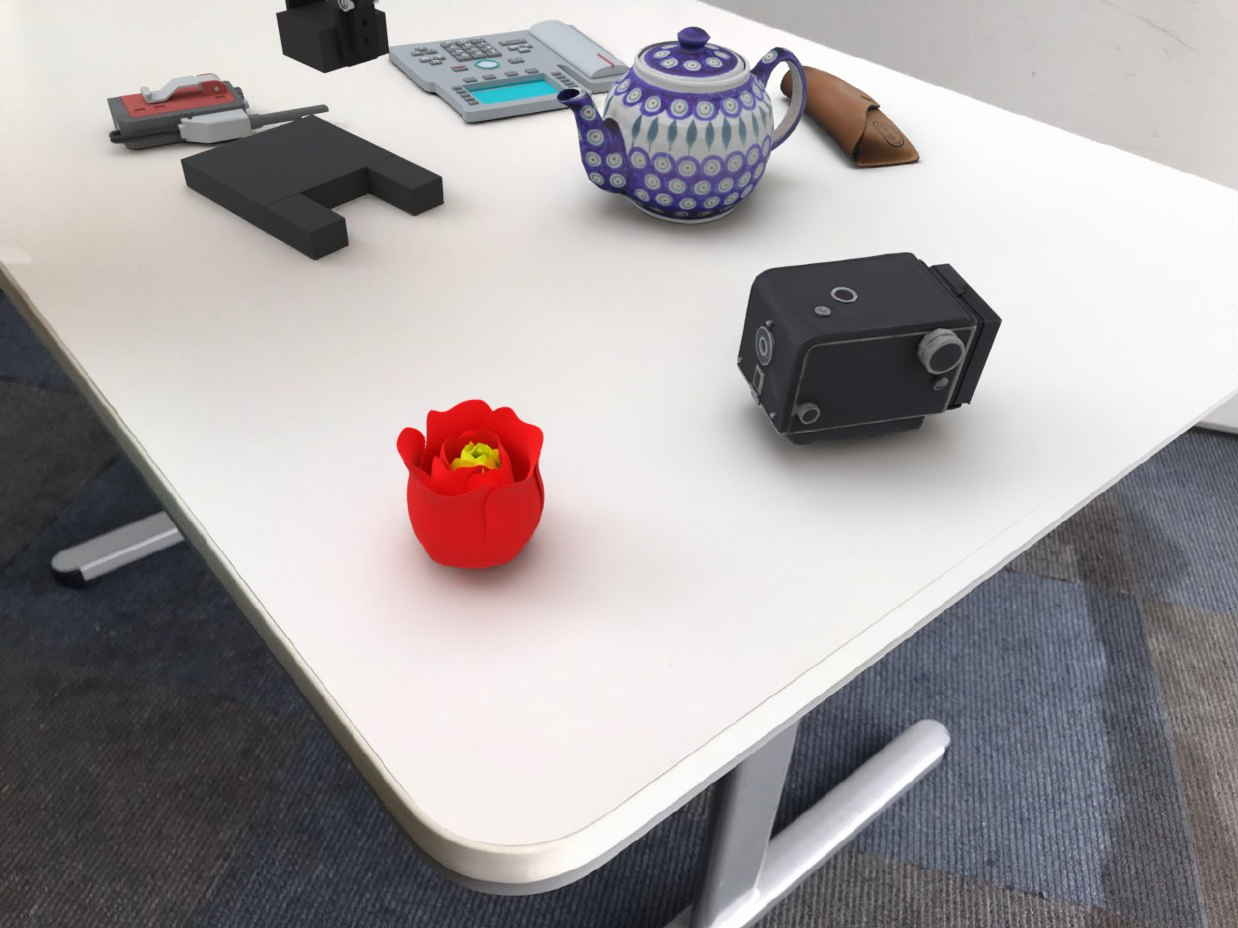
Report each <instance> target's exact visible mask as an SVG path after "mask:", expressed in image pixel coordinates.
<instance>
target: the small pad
mask: <svg viewBox="0 0 1238 928" xmlns="http://www.w3.org/2000/svg"><path fill="white" fill-rule="evenodd" d="M339 7H340V6H339V3H338V0H324V1H320V2H316V3H313V4H309V5H305V6H301V7H297V8H293V9H289V10H286V9H285V10H281V11H278V12H276V13H275V17H276V22H277V23H276V24H277V28H278V35H279V40H280V46H281V51H282V56H285V57H288V58H289V59H291V60H294V61H296V62H299V63H300V64H302V65H305V66H307V67H309V68H312V69H314V70H316V71H317V72H320V73H322V74H327V73H328V74H329V73H331V72H334V71H338V70H341V69H343V68H347V67H346V66H344V65H342V64H341V62H340V55H339V48H338V40H337V32H336V26H335V19H334V10H333V9H336V8H339ZM375 13H376V22H377V32H378V41H379V51H380V54H379V57H383V56H386V55H388V54H389V47H390V45H389V35H388V26H387V25H388V23H387V15H386V11H383V10H380V9H377V8H375Z"/></svg>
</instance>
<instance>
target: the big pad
mask: <svg viewBox="0 0 1238 928" xmlns="http://www.w3.org/2000/svg"><path fill="white" fill-rule="evenodd" d="M180 164H181V167H182V172H183V176H184V180H185V184H186V186H187V187H188V188H190V189H192V190H193V191H195V192H197V193H199V194H200V195H202V196H204V197H205V198H207V199H209V200H211V201H212V202H214V203H216V204H217V205H219V206H220V207H223V208H224V209H226V210H227V211H230V212H231V213H233V214H235V215H236V216H238V217H240V218H241V219H242V220H245V221H246V222H248V223H250V224H252V225H253V226H255V227H257V228H259V229H260V230H262V231H264V232H265V233H267V234H270V235H271V236H273V237H274V238H275V239H277V240H280V241H281V242H283V243H284V244H286V245H288V246H290V247H291V248H293V249H295V250H297V251H298V252H300V253H302V254H304V255H305V256H307V257H309V258H310V259H312V260H313V261H315V260H319V259H320V258H323V257H326V256H327V255H329V254H331V253H333V252H336V251H339V250H340V249H341V250H342V249H343V248H345V247H347V246H349V245H350V243H349V242H350V241H349V236H348V235H349V234H348V228H347V221H346V218H345V216H343V215H341V214H339V213H337V212H335V211H333V210H332V209H333V208H335V207H338V206H340V205H342V204H345V203H347V202H350V201H352V200H355V199H357V198H360V197H362V196H364V195H367V194H371V195H372V196H375V197H377V198H379V199H380V200H383V201H384V202H386V203H389V204H390V205H393V206H394V207H395V208H398V209H400V210H401V211H403V212H406V213H408V214H410V215H412V216H417V215H419V214H422V213H424V212H426V211H430V210H431V209H433V208H435V207H438V206H441V205H442V204H444V203H445V198H444V197H445V196H444V185H443V184H444V183H443V175H442V176H441V175H440V174H438V173H436V172H433V171H431V170H429V169H427V168H425V167H423V166H420V165H419V164H417V163H414V162H413V161H410V160H409V159H407V158H404V157H402V156H400V155H398V154H396V153H395V152H392V151H390V150H388V149H386V148H383V147H381V146H379V145H377V144H375V143H373V142H371V141H369V140H367V139H365V138H362V137H360V136H358V135H356V134H354V133H352V132H350V131H348V130H347V129H344V128H342V127H340V126H337V125H336V124H333V123H331V122H330V121H327V120H325V119H323V118H322V117H319V116H317V115H316V114H314V115H308V116H303V117H302V118H300V119H297V120H295V121H289V122H285V123H284V124H283V123H282V124H280V125H277V126H274V127H272V128H268V129H265V130H262V131H259V132H256V133H253V134H252V135H250V136H248V137H245V138H238V139H236V140H233V141H230V142H227V143H225V144H222V145H218V146H216V147H212V148H210V149H207V150H203V151H201V152H197V153H194V154H191V155H189V156H187V157H186V156H185V157H183V158H181V159H180Z"/></svg>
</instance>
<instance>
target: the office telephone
mask: <svg viewBox="0 0 1238 928" xmlns="http://www.w3.org/2000/svg"><path fill="white" fill-rule="evenodd" d="M387 56H388V59H389V60H390V61H391V62H392V63H393V64H394V65H396V66H397V68H399V69H400V70H401V71H402V72H403V73H404V74H405V75H407V77H408V78H410V79H411V80H412V81H413V82H414V83H415V84H416V85H418V87H420V88H421V89H423V90H424V91H425V92H428V93H435V94H437V95H438V96H439V97H441V98H442V99H443V100H444V101H445V102H446V103H448V104H449V105H450V106H451V107H452V108H453V109H454V110H455V111H456V112H458V114H460V115H461V116H462V120H463V121H464V122H467V123H476V122H481V121H482V122H483V121H488V120H496V119H501V118H507V117H513V116H514V117H515V116H520V115H521V116H522V115H526V114H533V113H539V112H546V111H552V110H557V109H564V108H569V107H568V106H566V105H564V104H562V103H560V102H559V101H558V100H557V98H556V97H557V95H558V93H559V92H561V91H562V90H564V89H567V88H573V87H578V88H581V89H583V90H584V91H586V92H587V93H588V94H589V95H590V97H591V98H592V99H593V97H592V96H593V94H597V93H604V92H605V93H606V92H609V90H610V88H611V86H612V85H613V84H614V82H615V81H616V80H617V79H618V78H619V77H621V76H622V75H623V74H624V73H625V72H627V71H628V70H629V69H630V68H631V67H630V66H628V65H627V64H626V63H624V62H623V61H622V60H620V59H618V58H617V57H615V55H614V54H613V53H611V52H610V51H609V50H608V49H606V48H605V47H604V46H602V45H601V44H599V43H597V42H596V41H594V40H593V39H592V38H591V37H589V36H588V35H587V34H585V33H584V32H582V31H581V30H580V29H578V28H577V27H576V26H574V25H573V24H566V23H565V22H564V21H562V20H557V19H548V20H542V21H539V22H537V23H534V24H532V25H531V26H530V27H529V28H528V29H521V30H515V31H507V32H498V33H491V34H490V33H489V34H483V35H475V36H474V35H473V36H467V37H460V38H451V39H443V40H435V41H428V42H427V41H426V42H416V43H408V44H406V43H405V44H401V45H399V44H398V45H391V46H390V45H389V54H387Z"/></svg>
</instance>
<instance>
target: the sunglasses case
mask: <svg viewBox="0 0 1238 928" xmlns="http://www.w3.org/2000/svg"><path fill="white" fill-rule="evenodd" d="M802 67H803V69H804V72H805V76H806V80H807V99H806V105H805V109H804V112H805V113H806V114H807V115H808V116H809V117H810V118H811V119H812V120H813V122H815V123H816V124H817V125H818V126H819V127H821V129H822V130H823V131H824V132H825V134H827V135H828V136H829V137H830V138H831V139H832V140H833V141H834V143H836V145H838V147H839V148H840V149H842V151H844V152H845V154H846V155H847V156H848V157H850V158H851V159H852V160H853V162H854V163H855V165H856V166H857V167H858V168H882V167H892V166H897V165H903V164H908V163H909V164H910V163H913V162H917V161H918V160H920V159H921V158H920V155H919V152H918V151H917V149H916V148H915V146H914V145H913V143H912V142H911V141H910V139H909V138H908V137H907V136H906V135H905V134H904V132H903V131H902V130H901V129H900V128H899V127H898V126H897V125H896V124H895V123H894V122H893V121H892V120H891V119H890V118H889V117H888V116H887V115H886V114H885V113H884V112H883V111H882V110H881V109H880V108H881V104H880V103H878V102H877V101H876V100H875V99H874V98H873V97H872V96H871V95H869V94H867V92H865V91H863V90H861V89H860V88H857V87H855V85H852V84H850V82H847V81H846V80H844V79H842V78H841V77H838V76H837V75H835V74H832V73H830V72H827V71H826V70H822V69H819V68H817V67H813V66H809V65H803V64H802ZM779 85H780V86H779V91H781V93H782V94H783V96H785V97H786V98H787V99H789V100H790V101H791V98H792V93H793V81H792V75H791V71H790V68H789V69H788V70H787V71H786V72H785V74H784V75H783V76H782V78H781V81H780V84H779Z"/></svg>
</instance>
